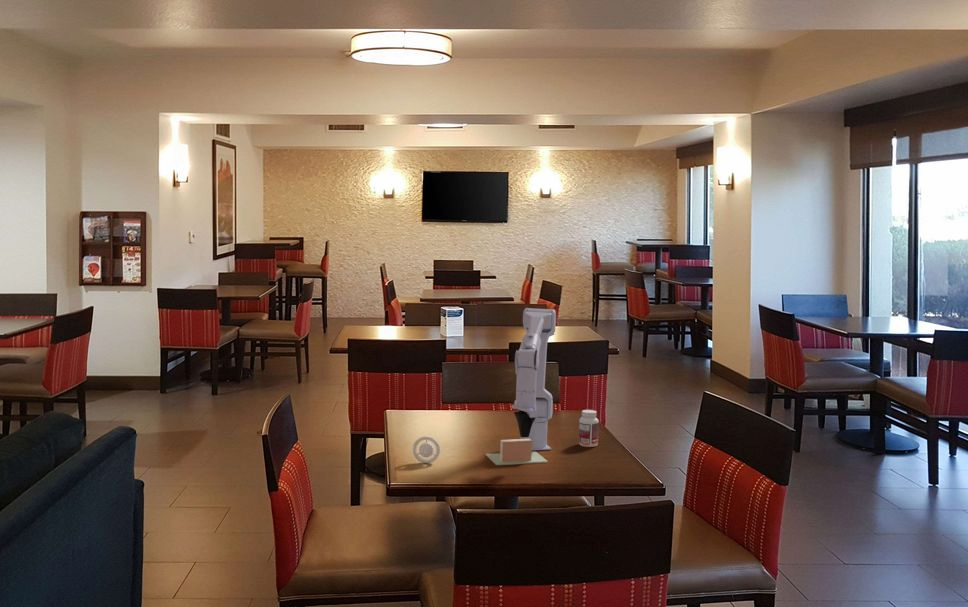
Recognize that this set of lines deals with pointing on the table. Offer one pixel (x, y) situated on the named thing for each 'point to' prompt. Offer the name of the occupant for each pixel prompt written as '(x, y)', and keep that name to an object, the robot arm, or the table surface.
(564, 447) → the table surface
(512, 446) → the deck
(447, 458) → the table surface
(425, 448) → the ring around a ball
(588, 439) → the pill bottle
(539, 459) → the mat
